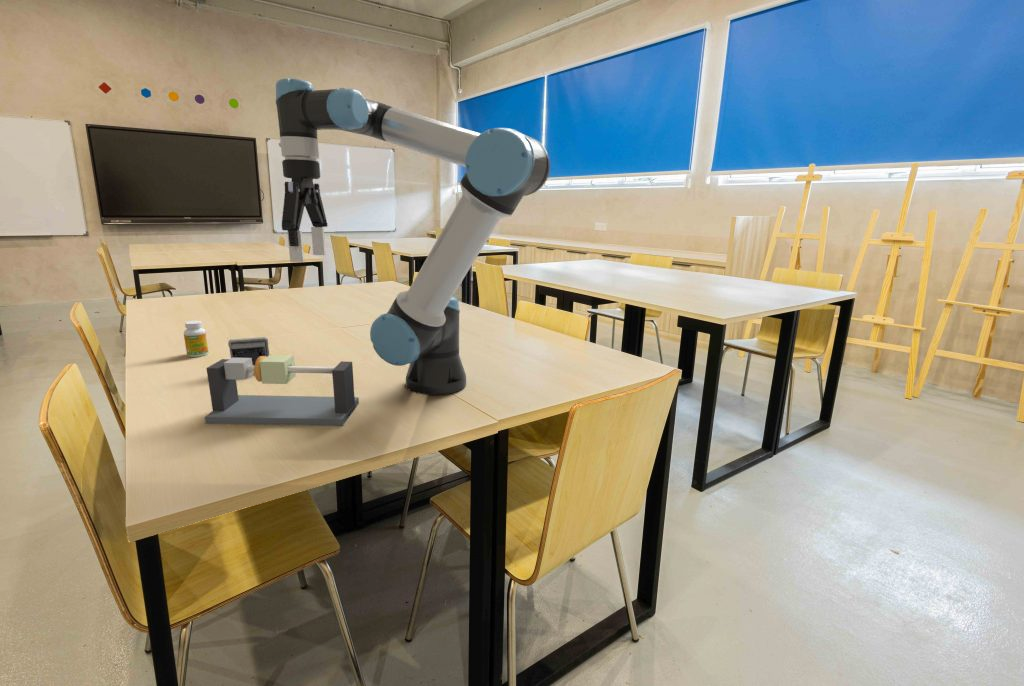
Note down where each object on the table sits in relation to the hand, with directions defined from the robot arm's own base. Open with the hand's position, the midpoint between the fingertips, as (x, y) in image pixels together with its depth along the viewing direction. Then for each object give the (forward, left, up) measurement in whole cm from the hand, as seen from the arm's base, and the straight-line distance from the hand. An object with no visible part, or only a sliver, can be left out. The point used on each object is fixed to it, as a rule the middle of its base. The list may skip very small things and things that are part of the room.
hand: (309, 258), depth 116 cm
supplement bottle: (+44, -25, -32) cm, 60 cm away
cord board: (+2, +15, -32) cm, 35 cm away
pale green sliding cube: (+3, +15, -24) cm, 29 cm away
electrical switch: (+22, -12, -32) cm, 41 cm away
